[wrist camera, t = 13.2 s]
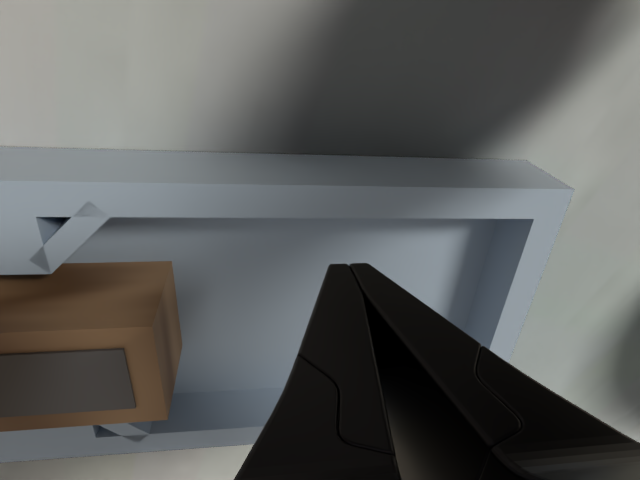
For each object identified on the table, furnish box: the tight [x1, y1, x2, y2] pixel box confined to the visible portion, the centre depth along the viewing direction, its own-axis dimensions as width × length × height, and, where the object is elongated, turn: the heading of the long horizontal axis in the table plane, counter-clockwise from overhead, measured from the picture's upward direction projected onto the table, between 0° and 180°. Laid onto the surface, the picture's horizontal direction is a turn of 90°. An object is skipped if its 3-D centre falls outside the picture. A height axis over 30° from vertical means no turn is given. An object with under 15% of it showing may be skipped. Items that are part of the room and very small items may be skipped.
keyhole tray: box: [0, 147, 574, 463], centre depth 18 cm, size 26×13×3 cm, turn 86°
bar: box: [0, 261, 182, 432], centre depth 16 cm, size 10×4×4 cm, turn 87°
